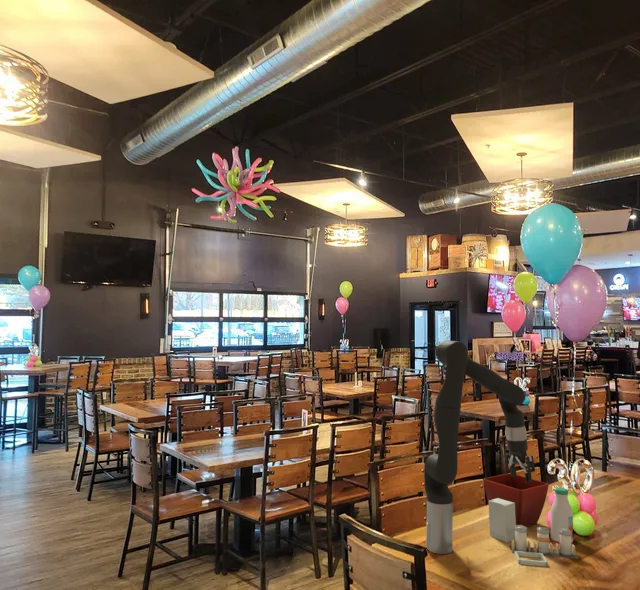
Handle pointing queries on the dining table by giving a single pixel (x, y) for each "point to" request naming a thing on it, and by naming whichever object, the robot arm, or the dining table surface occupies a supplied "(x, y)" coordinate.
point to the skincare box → (502, 519)
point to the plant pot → (518, 496)
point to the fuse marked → (543, 540)
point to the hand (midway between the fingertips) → (521, 479)
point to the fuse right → (565, 542)
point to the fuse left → (521, 538)
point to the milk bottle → (561, 514)
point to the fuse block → (551, 551)
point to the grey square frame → (530, 562)
